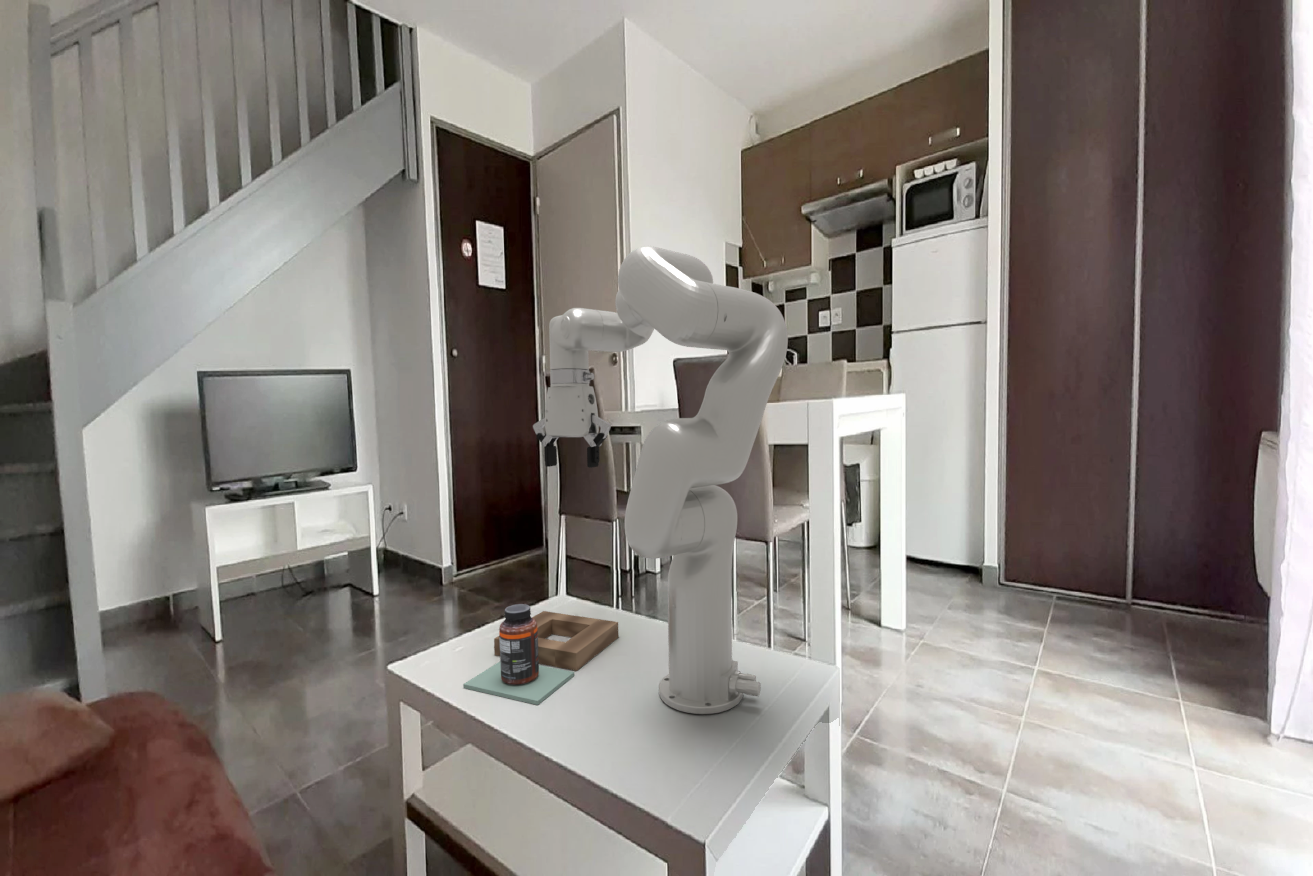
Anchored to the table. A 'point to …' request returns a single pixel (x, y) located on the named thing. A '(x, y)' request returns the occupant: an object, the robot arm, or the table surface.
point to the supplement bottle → (518, 646)
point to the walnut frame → (577, 650)
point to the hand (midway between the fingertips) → (571, 466)
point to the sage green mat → (527, 692)
